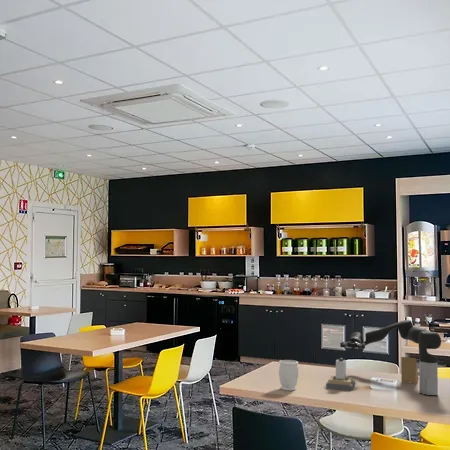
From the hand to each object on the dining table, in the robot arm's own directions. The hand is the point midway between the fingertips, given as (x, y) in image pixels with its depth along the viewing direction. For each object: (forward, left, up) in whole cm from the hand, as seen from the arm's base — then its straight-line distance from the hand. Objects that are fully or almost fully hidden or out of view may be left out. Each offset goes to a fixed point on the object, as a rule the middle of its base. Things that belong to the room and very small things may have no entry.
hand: (351, 346), depth 315 cm
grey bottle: (-11, +9, -18) cm, 23 cm away
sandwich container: (+7, -38, -21) cm, 44 cm away
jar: (-18, +40, -21) cm, 49 cm away
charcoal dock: (-11, +9, -21) cm, 25 cm away
